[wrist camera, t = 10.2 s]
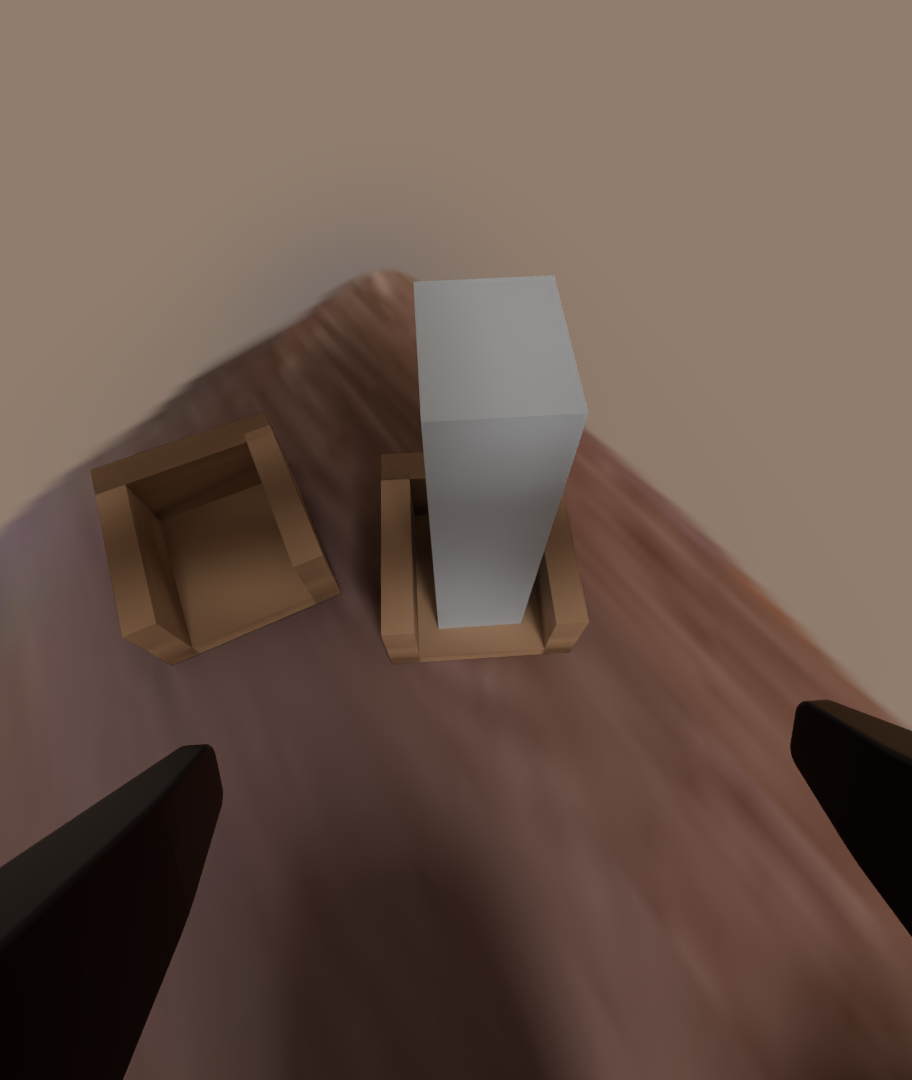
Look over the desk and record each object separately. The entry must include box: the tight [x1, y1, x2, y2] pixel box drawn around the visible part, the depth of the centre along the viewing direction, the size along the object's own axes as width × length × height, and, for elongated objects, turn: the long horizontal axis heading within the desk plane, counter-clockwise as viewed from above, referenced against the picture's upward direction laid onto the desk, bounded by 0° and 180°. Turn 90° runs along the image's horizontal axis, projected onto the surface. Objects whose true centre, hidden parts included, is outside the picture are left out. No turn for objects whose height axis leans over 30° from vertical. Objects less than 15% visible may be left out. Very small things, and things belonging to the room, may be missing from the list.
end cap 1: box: [91, 412, 341, 665], centre depth 23 cm, size 8×8×4 cm
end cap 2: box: [381, 452, 589, 664], centre depth 23 cm, size 8×8×4 cm
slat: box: [414, 275, 588, 629], centre depth 18 cm, size 4×4×13 cm
